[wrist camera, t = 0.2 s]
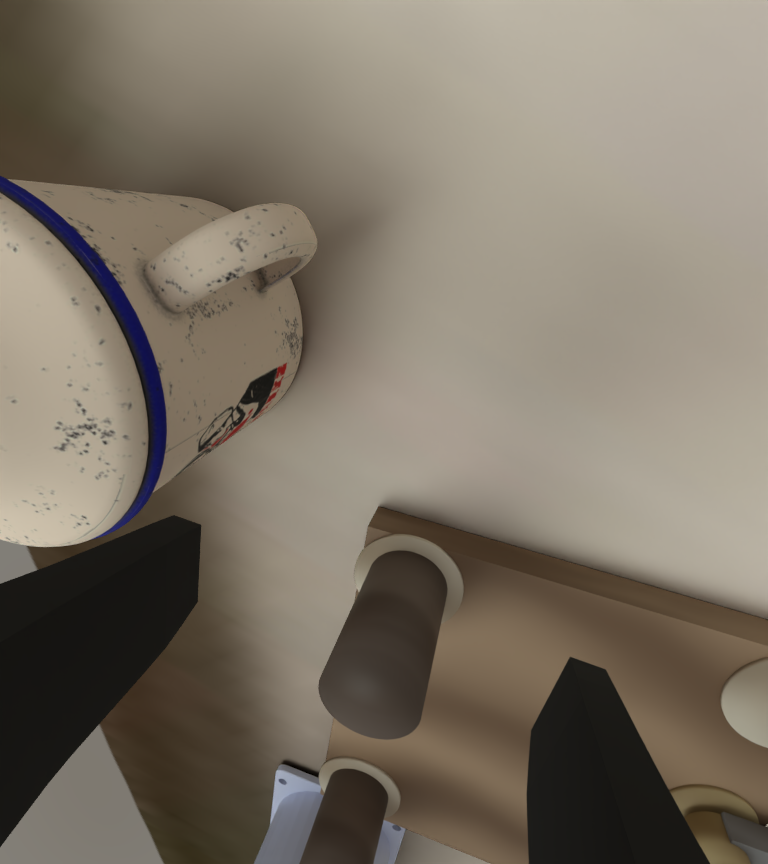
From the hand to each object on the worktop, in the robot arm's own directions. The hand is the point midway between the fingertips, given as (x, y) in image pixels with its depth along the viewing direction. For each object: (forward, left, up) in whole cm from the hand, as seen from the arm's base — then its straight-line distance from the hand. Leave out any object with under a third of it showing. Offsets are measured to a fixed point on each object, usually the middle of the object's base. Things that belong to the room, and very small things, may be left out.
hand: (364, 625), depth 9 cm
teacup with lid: (+3, +9, -10) cm, 14 cm away
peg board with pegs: (-13, -7, -10) cm, 18 cm away
